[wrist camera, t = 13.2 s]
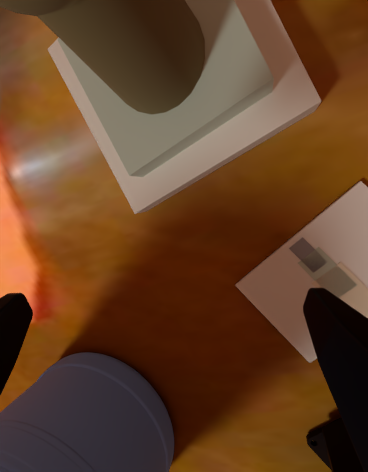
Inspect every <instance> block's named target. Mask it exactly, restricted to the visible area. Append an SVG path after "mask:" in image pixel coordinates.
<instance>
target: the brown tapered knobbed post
mask: <svg viewBox="0 0 368 472" xmlns="http://www.w3.org/2000/svg"><path fill="white" fill-rule="evenodd" d="M0 7H2V8H5V9H8V10H10V11H13V12H15V13H20V14H27V15H33V16H38V17H39V18H40V19H41V20H42V21H43V22H44V23H45V24H46V25H47V26H48V27H49V28H50V29H51V30H52V31H53V32H54V33H55V34H56V35H57V36H58V37H59V38H60V39H61V40H62V41H63V42H64V43H65V44H66V45H67V46H68V47H69V48H70V49H71V50H72V51H73V52H74V53H75V54H76V55H77V56H78V57H79V58H80V59H81V60H82V61H83V62H84V63H85V64H86V65H87V66H88V67H89V68H90V69H91V70H92V71H93V72H94V73H95V74H96V75H97V76H98V77H99V78H100V79H101V80H103V81H104V82H105V83H106V84H107V85H108V86H109V87H110V88H111V89H112V90H113V91H114V92H115V93H116V94H117V95H118V96H119V97H120V98H121V99H122V100H123V101H124V102H125V103H126V104H127V105H129V106H130V107H132V108H133V109H135V110H136V111H138V112H142V113H146V114H151V115H152V114H159V113H165V112H167V111H169V110H171V109H173V108H175V107H177V106H179V105H180V104H181V103H182V102H183V101H184V100H185V99H186V98H187V97H188V96H189V95H190V94H191V93H192V91H193V89H194V88H195V86H196V84H197V82H198V80H199V79H200V77H201V73H202V69H203V64H204V60H205V39H204V36H203V33H202V30H201V27H200V24H199V21H198V20H197V18H196V17H195V15H194V14H193V12H192V11H191V9H190V8H189V6H188V5H187V3H186V1H185V0H0Z"/></svg>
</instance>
